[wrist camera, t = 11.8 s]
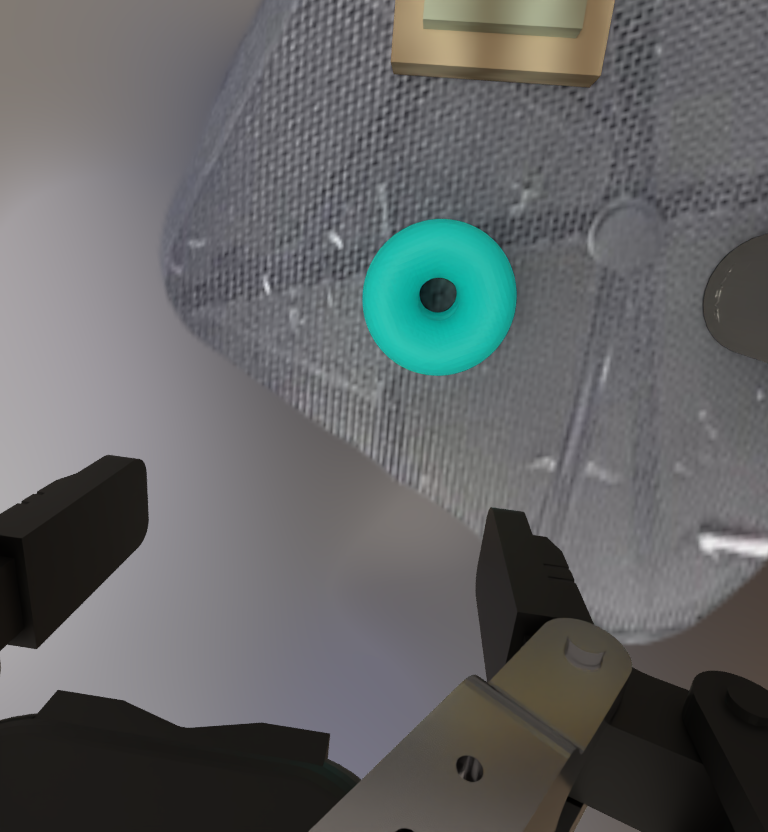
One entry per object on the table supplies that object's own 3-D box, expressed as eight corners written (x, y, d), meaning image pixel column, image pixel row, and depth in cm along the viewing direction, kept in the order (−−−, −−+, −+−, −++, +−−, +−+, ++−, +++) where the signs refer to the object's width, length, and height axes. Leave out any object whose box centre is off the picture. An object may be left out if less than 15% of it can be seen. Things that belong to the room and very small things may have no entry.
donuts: (335, 255, 32) (491, 189, 30) (358, 254, 41) (477, 205, 39) (392, 400, 34) (539, 349, 32) (402, 368, 44) (516, 327, 42)
